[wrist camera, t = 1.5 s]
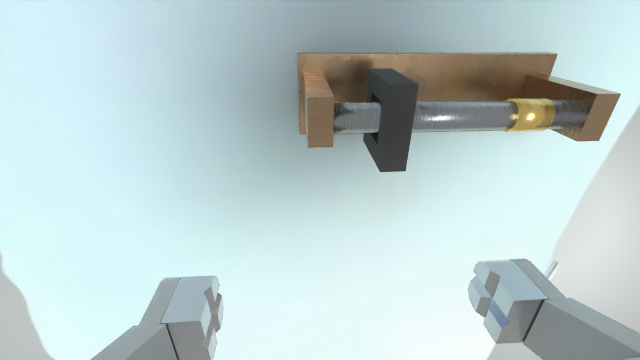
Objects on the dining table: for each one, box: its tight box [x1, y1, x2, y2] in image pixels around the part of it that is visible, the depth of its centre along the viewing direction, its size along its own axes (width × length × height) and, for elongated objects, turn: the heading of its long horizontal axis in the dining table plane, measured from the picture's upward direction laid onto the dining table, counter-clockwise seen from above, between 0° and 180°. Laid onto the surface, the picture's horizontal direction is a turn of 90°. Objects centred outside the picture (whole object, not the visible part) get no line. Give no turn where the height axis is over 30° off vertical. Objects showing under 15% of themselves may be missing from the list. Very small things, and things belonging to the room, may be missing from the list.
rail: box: [298, 53, 621, 148], centre depth 29 cm, size 26×8×9 cm, turn 90°
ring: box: [363, 68, 419, 172], centre depth 25 cm, size 2×7×7 cm, turn 0°
